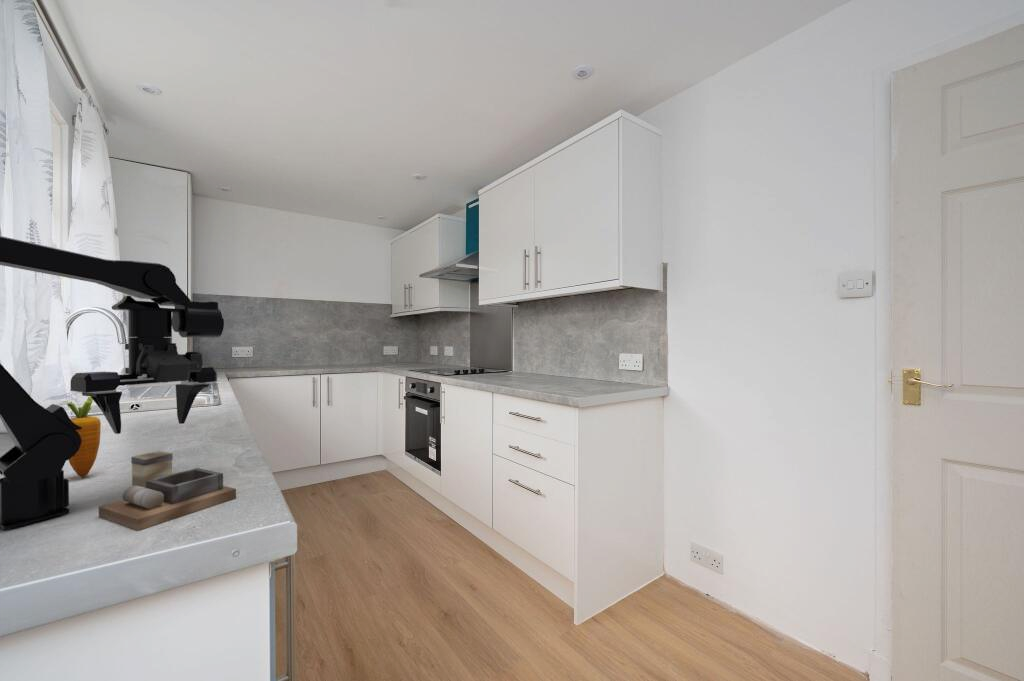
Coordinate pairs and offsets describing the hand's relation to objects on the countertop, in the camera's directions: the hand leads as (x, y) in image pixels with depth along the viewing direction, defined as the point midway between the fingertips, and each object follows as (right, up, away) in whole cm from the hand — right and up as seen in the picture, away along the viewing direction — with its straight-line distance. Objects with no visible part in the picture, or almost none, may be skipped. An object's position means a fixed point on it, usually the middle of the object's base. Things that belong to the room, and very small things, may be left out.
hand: (151, 428), depth 74 cm
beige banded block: (0, -11, 0) cm, 11 cm away
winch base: (+10, -11, -8) cm, 16 cm away
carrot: (-19, -11, +7) cm, 23 cm away
